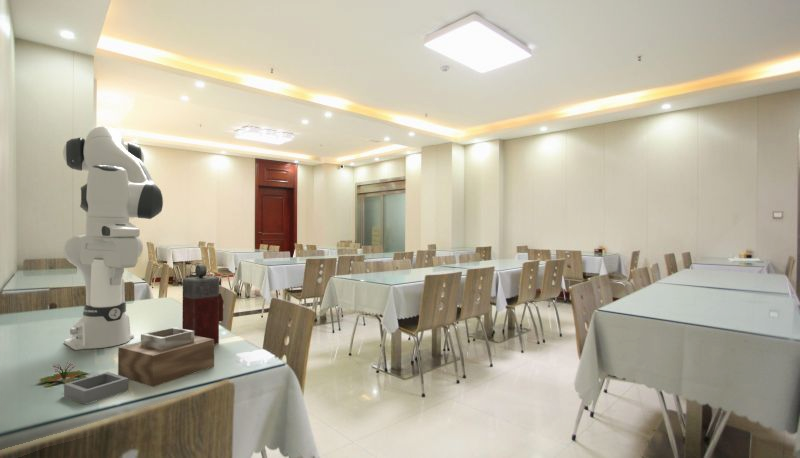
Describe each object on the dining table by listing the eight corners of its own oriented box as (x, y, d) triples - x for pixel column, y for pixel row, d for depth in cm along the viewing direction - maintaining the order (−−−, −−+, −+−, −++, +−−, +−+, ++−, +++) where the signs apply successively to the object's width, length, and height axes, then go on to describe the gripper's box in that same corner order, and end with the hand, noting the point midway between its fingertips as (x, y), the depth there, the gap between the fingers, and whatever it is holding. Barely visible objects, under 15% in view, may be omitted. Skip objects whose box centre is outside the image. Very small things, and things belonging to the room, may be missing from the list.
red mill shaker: (225, 341, 147) (225, 264, 147) (193, 348, 138) (193, 266, 139) (213, 337, 153) (213, 263, 153) (181, 344, 144) (182, 264, 144)
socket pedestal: (118, 376, 112) (118, 336, 112) (180, 358, 128) (180, 323, 128) (152, 386, 105) (153, 343, 105) (214, 366, 121) (214, 329, 121)
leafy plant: (85, 369, 119) (85, 354, 119) (97, 379, 111) (97, 363, 111) (30, 381, 109) (30, 364, 109) (38, 393, 102) (38, 374, 102)
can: (103, 309, 99) (105, 259, 99) (83, 306, 101) (84, 258, 101) (127, 304, 105) (129, 257, 105) (108, 302, 107) (109, 256, 107)
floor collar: (63, 396, 99) (63, 384, 99) (107, 383, 107) (107, 371, 107) (84, 404, 94) (84, 391, 94) (128, 390, 102) (128, 378, 102)
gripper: (72, 228, 105) (72, 282, 105) (116, 229, 95) (115, 288, 95) (100, 228, 111) (99, 279, 111) (143, 229, 101) (143, 285, 101)
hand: (107, 284), depth 103 cm, fingers closed on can, 6 cm apart
